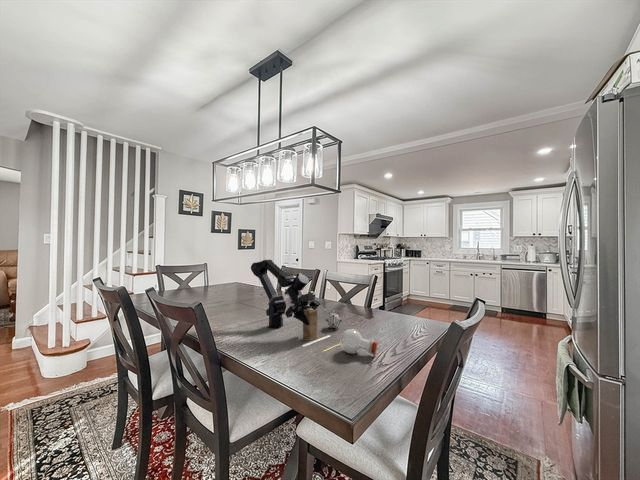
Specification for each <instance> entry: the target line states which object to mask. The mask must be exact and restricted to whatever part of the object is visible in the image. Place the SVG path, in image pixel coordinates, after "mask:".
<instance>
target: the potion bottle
mask: <svg viewBox="0 0 640 480" xmlns="http://www.w3.org/2000/svg"><path fill="white" fill-rule="evenodd" d="M378 341H379V340H376V341H375V340H374V338H373V337H371V338H370V339H365V338H363V337H362V334H361V333H360V332H359V331H358V330H357V329H355V328H350V329H346V330H344V331H343V332H342V333H341V336H340V338H339V343H340V345H339V346H341V349H342V350H343V352H345V353H347V354H349V355H350V354H356V353H358V352H359V351H363V352H366V353H367V354H368V356H371V355H373V357H376V354H377V350H378Z"/></svg>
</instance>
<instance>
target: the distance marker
mask: <svg viewBox="0 0 640 480" xmlns="http://www.w3.org/2000/svg"><path fill="white" fill-rule="evenodd" d="M338 346H341V345H340V342H339V343H337V344H335V345H333V346H330V347H329V348H326V349H323V350H322V352H325V353H326V351H329V350H331V349H334V348H337V347H338Z"/></svg>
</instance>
